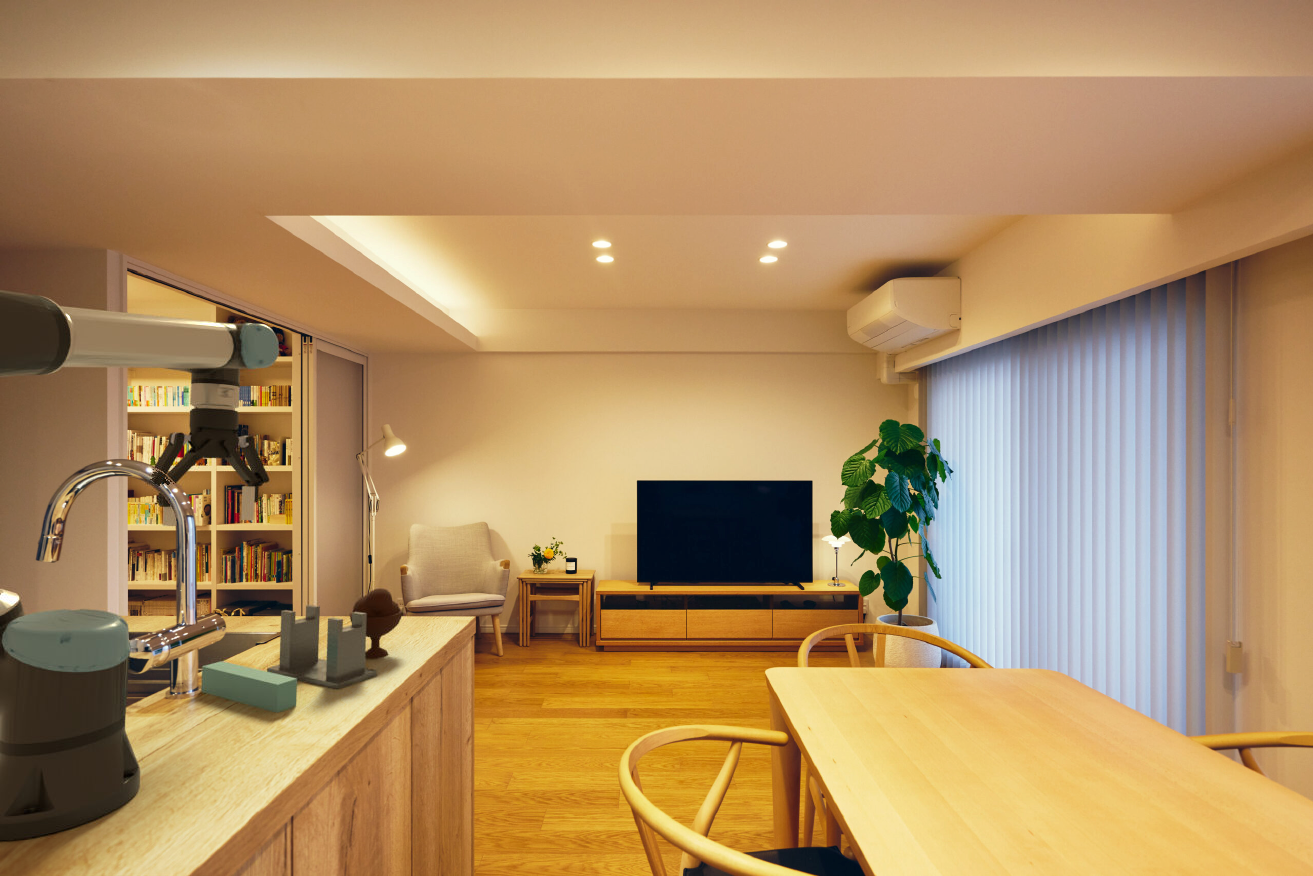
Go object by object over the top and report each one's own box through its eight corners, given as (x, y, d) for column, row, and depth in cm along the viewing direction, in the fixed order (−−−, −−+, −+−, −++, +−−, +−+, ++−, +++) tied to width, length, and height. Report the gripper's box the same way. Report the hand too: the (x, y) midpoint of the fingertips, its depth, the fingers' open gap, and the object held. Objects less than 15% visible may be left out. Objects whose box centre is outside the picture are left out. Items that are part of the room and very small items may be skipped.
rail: (296, 707, 112) (297, 678, 113) (277, 714, 109) (278, 684, 110) (220, 687, 122) (221, 661, 122) (201, 693, 119) (202, 666, 119)
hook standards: (338, 689, 121) (340, 622, 121) (266, 673, 130) (269, 611, 130) (376, 675, 129) (378, 613, 129) (307, 661, 138) (309, 602, 138)
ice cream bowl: (409, 649, 147) (411, 583, 148) (384, 664, 136) (386, 593, 137) (366, 647, 148) (368, 582, 149) (337, 662, 137) (339, 592, 138)
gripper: (149, 401, 106) (144, 529, 105) (291, 413, 128) (287, 518, 127) (125, 403, 109) (119, 527, 108) (267, 414, 132) (263, 517, 131)
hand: (210, 522), depth 118 cm, fingers open, 13 cm apart
